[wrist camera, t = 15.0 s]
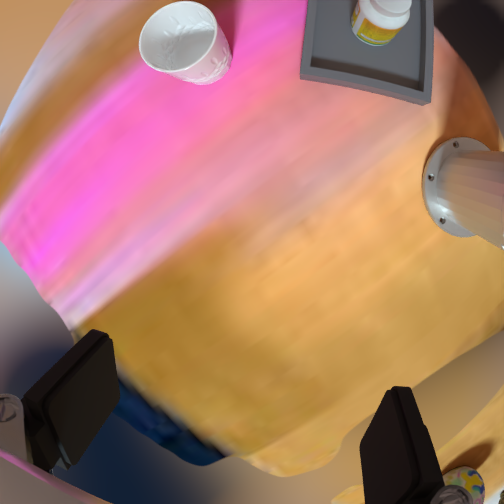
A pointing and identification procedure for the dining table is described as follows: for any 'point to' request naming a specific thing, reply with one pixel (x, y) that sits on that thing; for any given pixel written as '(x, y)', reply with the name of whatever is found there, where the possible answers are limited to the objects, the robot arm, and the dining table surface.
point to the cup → (503, 501)
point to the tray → (369, 52)
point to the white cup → (186, 43)
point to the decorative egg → (467, 482)
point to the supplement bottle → (379, 20)
